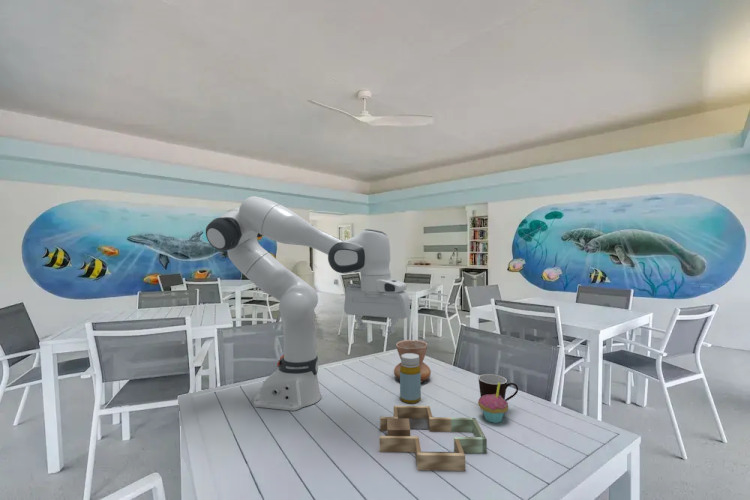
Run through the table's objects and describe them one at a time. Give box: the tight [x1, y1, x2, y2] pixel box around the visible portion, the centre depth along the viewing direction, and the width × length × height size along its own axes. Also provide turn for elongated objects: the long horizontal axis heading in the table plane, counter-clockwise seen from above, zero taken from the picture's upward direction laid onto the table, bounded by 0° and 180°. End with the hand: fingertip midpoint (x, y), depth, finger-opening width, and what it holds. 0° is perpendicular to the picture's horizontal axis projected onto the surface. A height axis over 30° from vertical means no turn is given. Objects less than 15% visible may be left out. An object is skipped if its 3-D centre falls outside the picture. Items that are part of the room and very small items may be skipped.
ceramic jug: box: [393, 339, 432, 383], centre depth 135 cm, size 18×14×14 cm
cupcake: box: [477, 381, 509, 424], centre depth 103 cm, size 9×8×12 cm
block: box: [386, 418, 411, 436], centre depth 92 cm, size 6×6×4 cm
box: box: [378, 405, 488, 472], centre depth 92 cm, size 27×25×4 cm
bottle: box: [399, 353, 422, 404], centre depth 117 cm, size 7×7×15 cm
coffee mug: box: [477, 373, 519, 402], centre depth 108 cm, size 12×9×10 cm
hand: (376, 331), depth 100 cm, fingers open, 8 cm apart
